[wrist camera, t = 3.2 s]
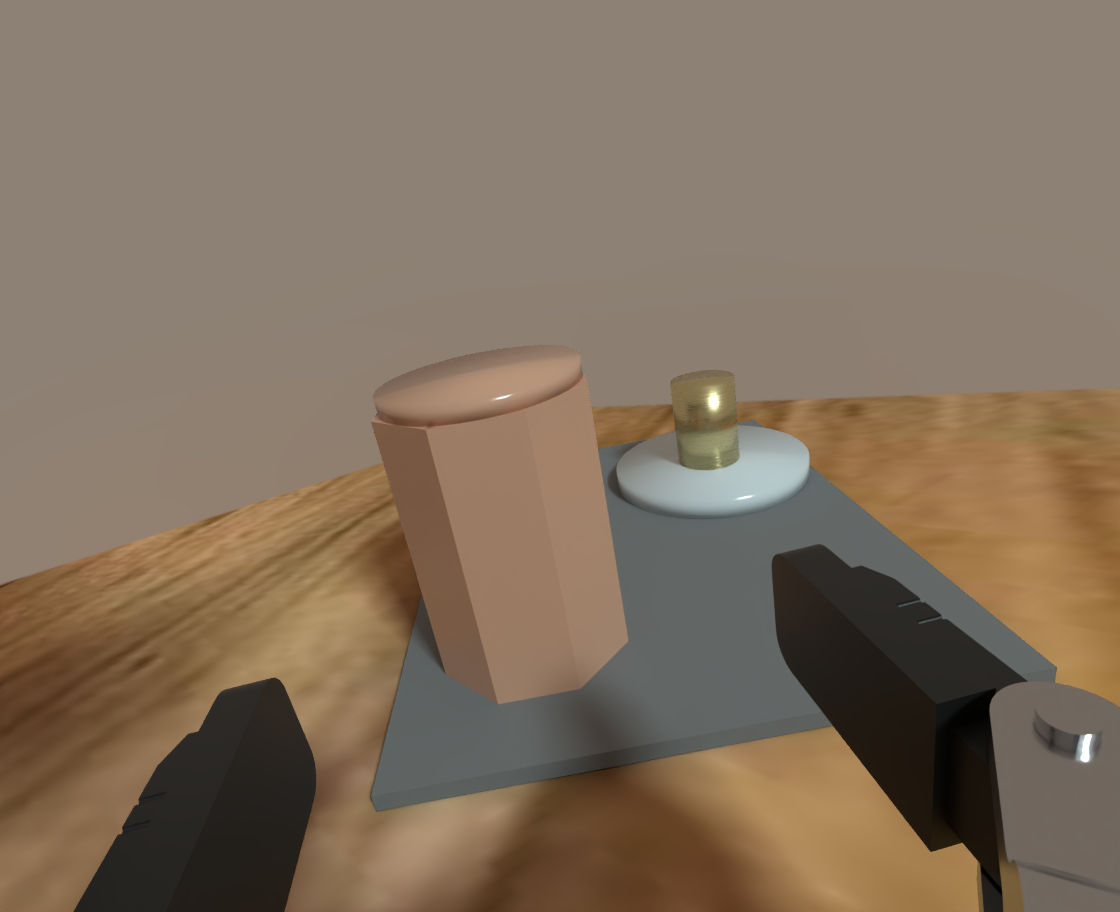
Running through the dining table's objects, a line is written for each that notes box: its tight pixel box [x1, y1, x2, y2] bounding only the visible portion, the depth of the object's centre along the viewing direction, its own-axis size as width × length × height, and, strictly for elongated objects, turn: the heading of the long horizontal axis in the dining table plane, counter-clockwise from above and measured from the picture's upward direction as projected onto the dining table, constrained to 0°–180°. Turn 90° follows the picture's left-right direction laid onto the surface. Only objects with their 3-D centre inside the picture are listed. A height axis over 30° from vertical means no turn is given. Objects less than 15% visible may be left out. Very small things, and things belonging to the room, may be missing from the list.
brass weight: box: [670, 370, 740, 470], centre depth 32 cm, size 3×3×4 cm
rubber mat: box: [371, 420, 1057, 811], centre depth 29 cm, size 20×24×1 cm
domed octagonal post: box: [371, 345, 628, 704], centre depth 21 cm, size 7×7×10 cm
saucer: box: [616, 425, 810, 519], centre depth 33 cm, size 10×10×1 cm
